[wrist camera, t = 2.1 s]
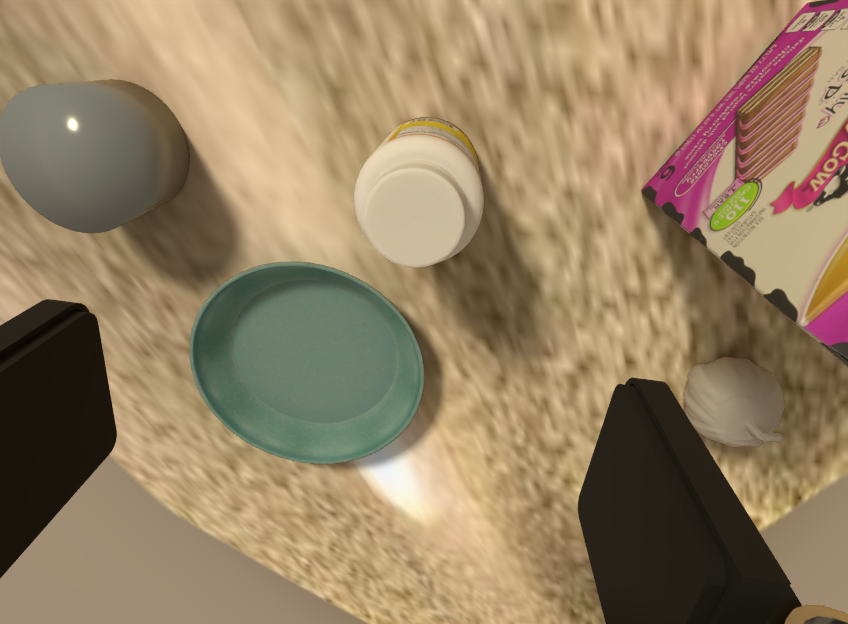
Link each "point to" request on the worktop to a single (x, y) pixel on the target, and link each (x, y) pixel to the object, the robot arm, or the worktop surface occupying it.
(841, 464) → the worktop surface
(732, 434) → the garlic
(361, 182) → the supplement bottle
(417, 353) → the saucer
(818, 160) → the candy bar box
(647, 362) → the worktop surface
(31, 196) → the grey short cylinder
